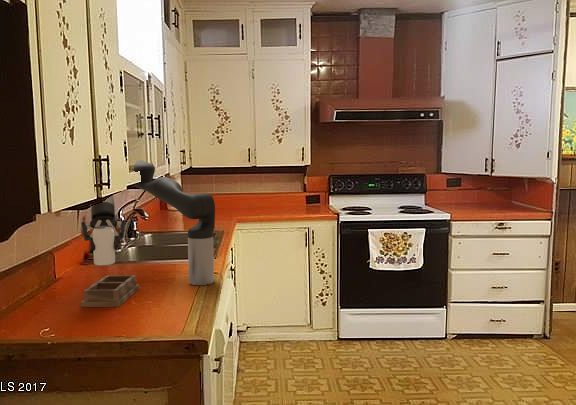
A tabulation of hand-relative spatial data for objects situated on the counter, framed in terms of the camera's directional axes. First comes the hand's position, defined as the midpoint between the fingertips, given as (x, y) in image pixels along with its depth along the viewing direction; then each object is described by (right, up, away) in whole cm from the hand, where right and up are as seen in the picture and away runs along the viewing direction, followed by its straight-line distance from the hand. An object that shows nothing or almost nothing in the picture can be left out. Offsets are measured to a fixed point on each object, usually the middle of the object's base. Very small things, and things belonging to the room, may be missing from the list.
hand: (105, 248), depth 154 cm
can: (-1, -5, +2) cm, 6 cm away
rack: (-1, -17, +8) cm, 19 cm away
